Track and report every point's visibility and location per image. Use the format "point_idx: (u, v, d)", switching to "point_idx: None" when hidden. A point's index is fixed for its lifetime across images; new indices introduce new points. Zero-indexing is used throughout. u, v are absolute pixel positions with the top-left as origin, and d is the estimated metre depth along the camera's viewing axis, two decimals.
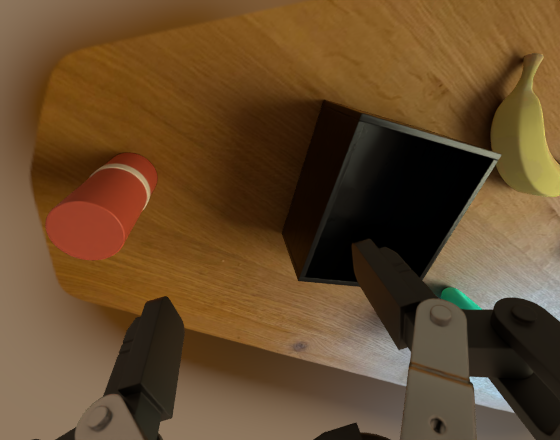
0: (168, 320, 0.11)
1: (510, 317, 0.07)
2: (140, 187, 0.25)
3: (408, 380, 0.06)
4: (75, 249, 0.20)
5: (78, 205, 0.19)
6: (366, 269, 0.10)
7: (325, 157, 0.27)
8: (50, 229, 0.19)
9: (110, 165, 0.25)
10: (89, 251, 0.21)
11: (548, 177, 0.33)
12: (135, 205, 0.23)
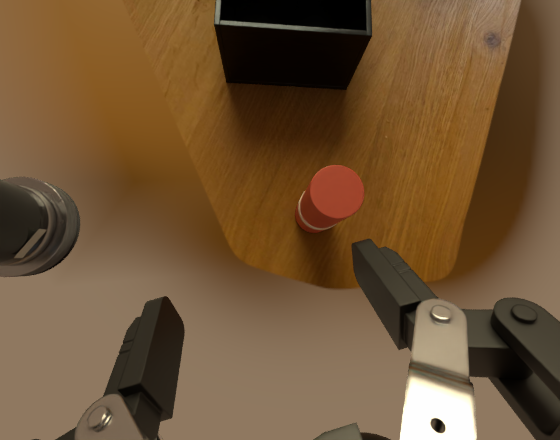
0: (168, 320, 0.11)
1: (510, 317, 0.07)
2: None
3: (408, 380, 0.06)
4: (354, 200, 0.25)
5: (313, 194, 0.25)
6: (366, 269, 0.10)
7: (259, 54, 0.33)
8: (338, 215, 0.24)
9: (299, 213, 0.32)
10: (355, 190, 0.25)
11: None
12: None
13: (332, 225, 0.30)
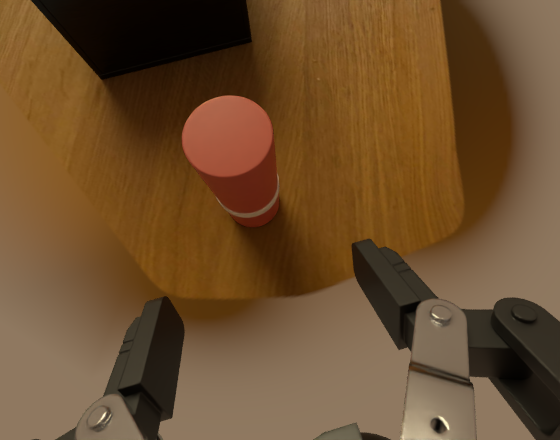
0: (168, 320, 0.11)
1: (510, 317, 0.07)
2: None
3: (408, 380, 0.06)
4: (259, 139, 0.15)
5: (189, 151, 0.15)
6: (366, 269, 0.10)
7: (112, 20, 0.25)
8: (238, 170, 0.14)
9: (218, 201, 0.22)
10: (255, 124, 0.15)
11: None
12: None
13: (265, 202, 0.20)
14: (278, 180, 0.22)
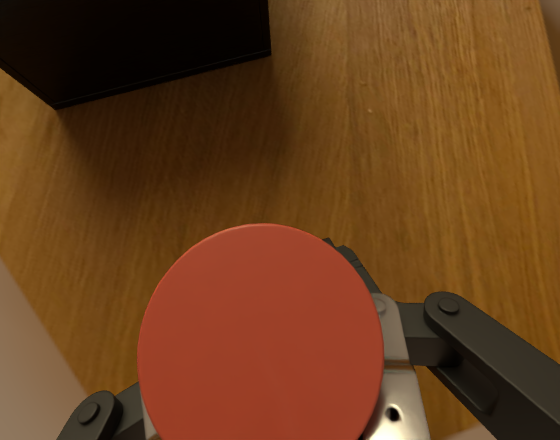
0: None
1: (436, 309, 0.08)
2: None
3: None
4: (347, 362, 0.05)
5: (157, 396, 0.05)
6: None
7: (57, 26, 0.16)
8: None
9: None
10: (335, 313, 0.06)
11: None
12: None
13: None
14: None
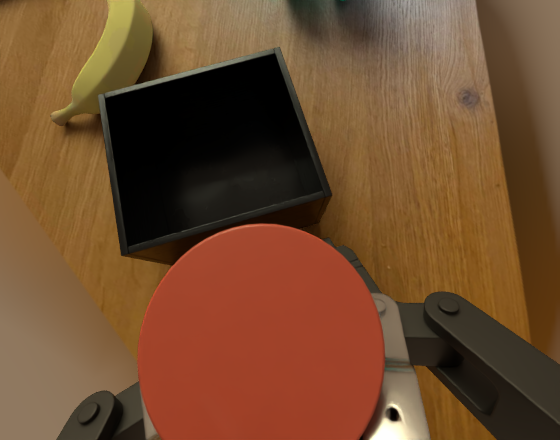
0: None
1: (436, 309, 0.08)
2: None
3: None
4: (348, 362, 0.05)
5: (157, 396, 0.05)
6: None
7: None
8: None
9: None
10: (335, 313, 0.06)
11: (115, 20, 0.32)
12: None
13: None
14: None
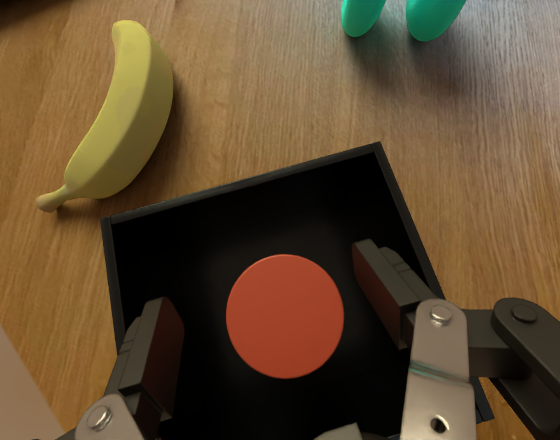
0: (168, 320, 0.11)
1: (510, 317, 0.07)
2: None
3: (408, 380, 0.06)
4: (326, 322, 0.11)
5: (237, 337, 0.11)
6: (366, 269, 0.10)
7: None
8: (301, 368, 0.11)
9: None
10: (320, 299, 0.12)
11: (125, 76, 0.23)
12: None
13: None
14: None
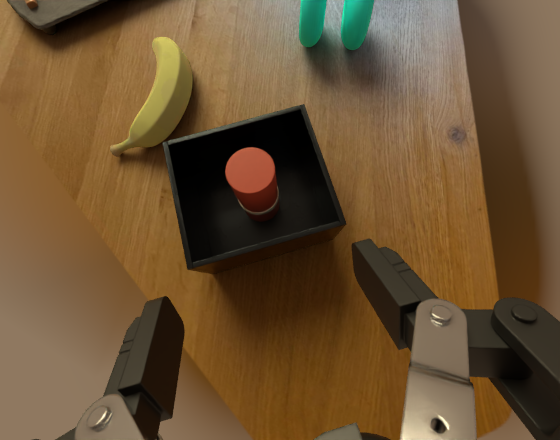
0: (168, 320, 0.11)
1: (510, 317, 0.07)
2: None
3: (408, 380, 0.06)
4: (267, 172, 0.27)
5: (230, 178, 0.27)
6: (366, 269, 0.10)
7: (239, 260, 0.32)
8: (256, 189, 0.27)
9: (240, 204, 0.34)
10: (265, 164, 0.28)
11: (166, 72, 0.39)
12: None
13: (270, 205, 0.33)
14: (278, 191, 0.34)
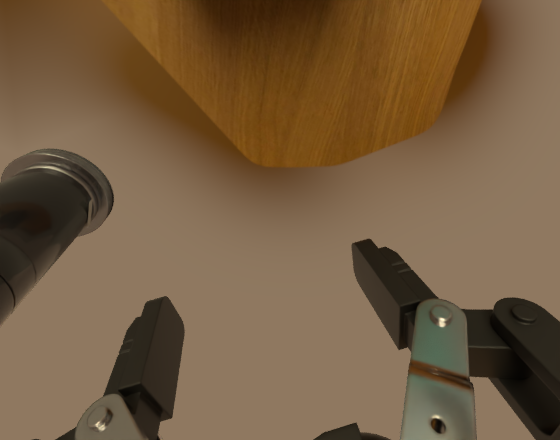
0: (168, 320, 0.11)
1: (510, 317, 0.07)
2: None
3: (408, 380, 0.06)
4: None
5: None
6: (366, 269, 0.10)
7: None
8: None
9: None
10: None
11: None
12: None
13: None
14: None
